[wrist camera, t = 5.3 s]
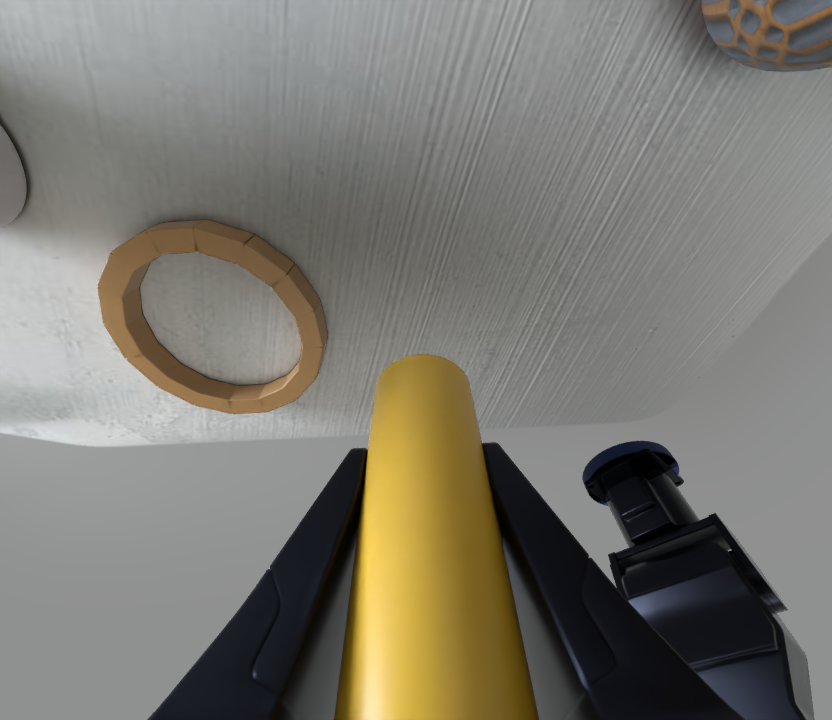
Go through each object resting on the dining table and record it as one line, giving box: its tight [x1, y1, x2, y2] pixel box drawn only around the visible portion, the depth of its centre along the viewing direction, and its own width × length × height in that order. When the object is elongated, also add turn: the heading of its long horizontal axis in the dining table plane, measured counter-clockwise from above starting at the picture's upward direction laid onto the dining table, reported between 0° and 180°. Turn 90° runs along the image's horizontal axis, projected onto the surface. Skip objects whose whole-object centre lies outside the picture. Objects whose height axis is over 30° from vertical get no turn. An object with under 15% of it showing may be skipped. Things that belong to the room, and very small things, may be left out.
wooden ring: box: [97, 220, 328, 414], centre depth 21 cm, size 12×12×2 cm
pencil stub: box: [334, 354, 539, 720], centre depth 8 cm, size 3×3×9 cm
